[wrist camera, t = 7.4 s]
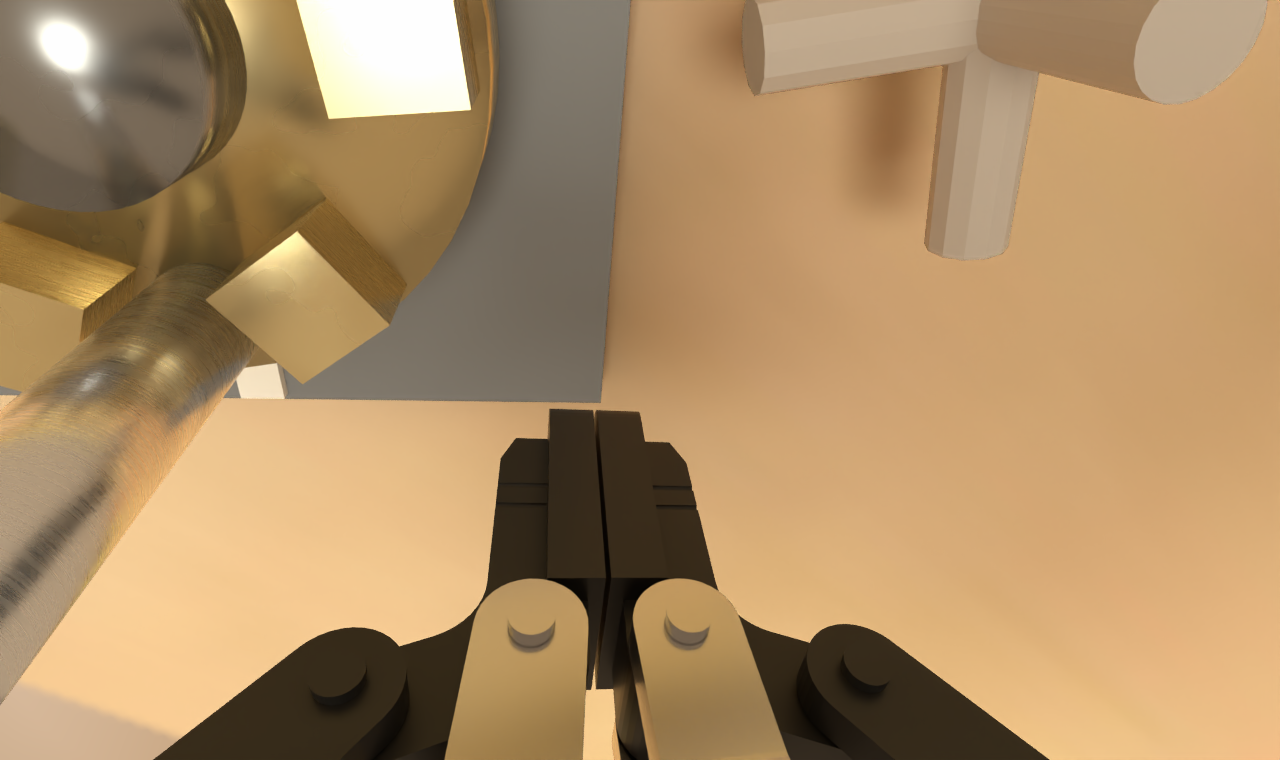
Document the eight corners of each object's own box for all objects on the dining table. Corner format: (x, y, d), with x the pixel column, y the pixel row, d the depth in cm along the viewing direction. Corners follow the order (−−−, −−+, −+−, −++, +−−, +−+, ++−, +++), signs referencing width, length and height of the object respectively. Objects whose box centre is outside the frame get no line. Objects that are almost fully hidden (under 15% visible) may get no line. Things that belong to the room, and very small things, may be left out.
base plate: (662, -540, 13) (677, -608, 11) (597, 377, 23) (601, 408, 22) (-728, -843, 10) (-963, -989, 8) (-75, 365, 20) (-126, 399, 19)
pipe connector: (717, 209, 20) (835, 392, 12) (686, -229, 15) (864, -457, 7) (1040, 155, 21) (1378, 297, 12) (1126, -295, 15) (1842, -597, 7)
